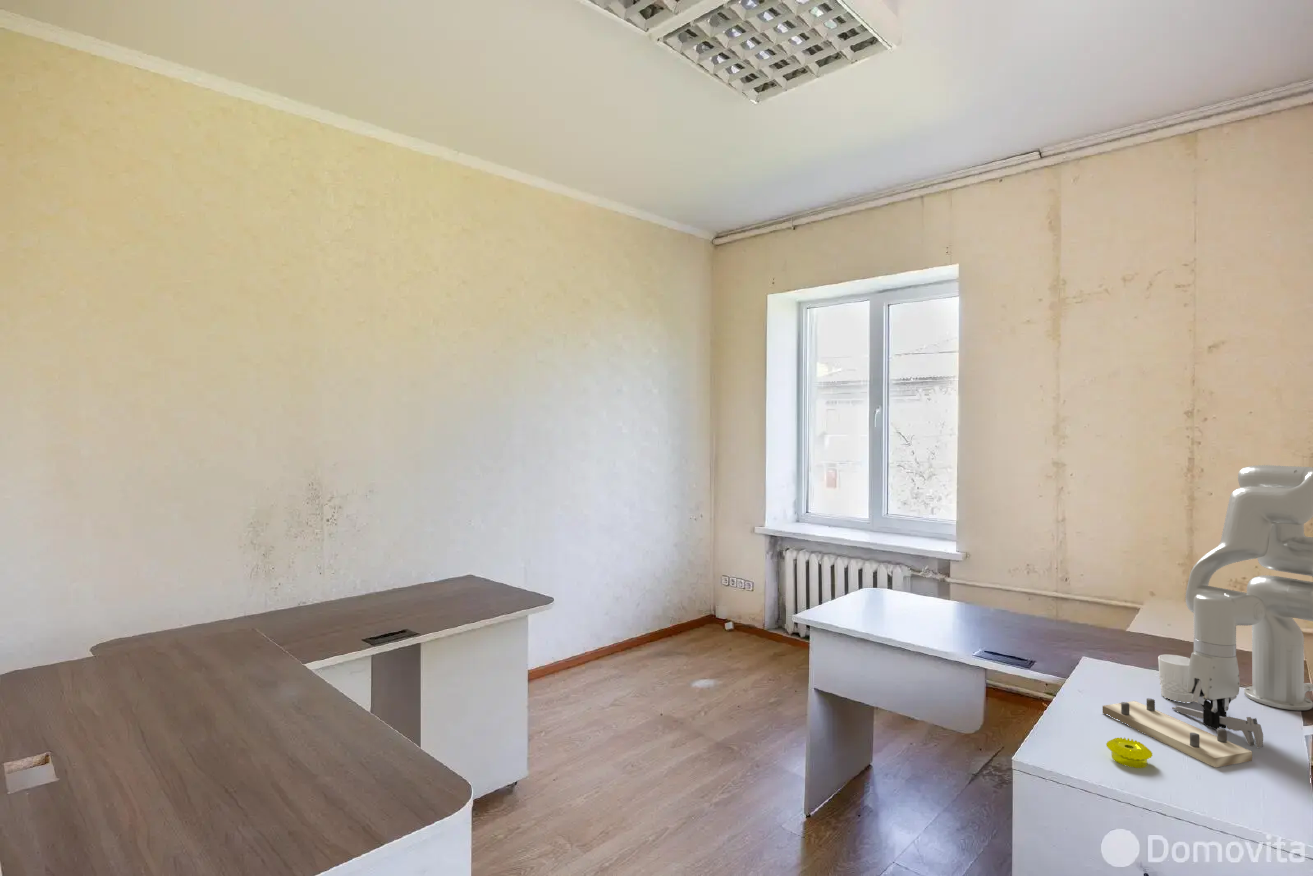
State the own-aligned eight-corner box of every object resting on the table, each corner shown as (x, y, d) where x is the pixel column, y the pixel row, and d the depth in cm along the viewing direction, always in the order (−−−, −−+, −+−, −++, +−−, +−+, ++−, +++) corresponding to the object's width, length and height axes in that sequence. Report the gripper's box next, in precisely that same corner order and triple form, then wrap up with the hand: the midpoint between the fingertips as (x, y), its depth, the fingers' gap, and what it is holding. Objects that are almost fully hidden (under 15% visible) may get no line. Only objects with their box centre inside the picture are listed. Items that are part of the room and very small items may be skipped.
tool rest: (1135, 708, 162) (1135, 691, 162) (1252, 760, 136) (1251, 739, 136) (1102, 713, 159) (1102, 695, 159) (1215, 767, 134) (1215, 746, 134)
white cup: (1191, 694, 169) (1191, 656, 169) (1202, 706, 162) (1201, 667, 162) (1154, 690, 173) (1154, 652, 172) (1163, 701, 165) (1162, 663, 165)
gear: (1133, 773, 133) (1162, 767, 135) (1133, 755, 133) (1162, 749, 135) (1097, 755, 140) (1125, 748, 143) (1097, 738, 140) (1124, 732, 143)
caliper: (1263, 749, 141) (1263, 721, 141) (1259, 750, 141) (1259, 721, 141) (1175, 709, 161) (1175, 684, 161) (1171, 709, 161) (1171, 684, 161)
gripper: (1223, 640, 156) (1223, 715, 156) (1171, 646, 152) (1172, 723, 153) (1258, 650, 149) (1258, 729, 149) (1205, 657, 145) (1205, 738, 145)
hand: (1214, 726), depth 151 cm, fingers closed on caliper, 1 cm apart
